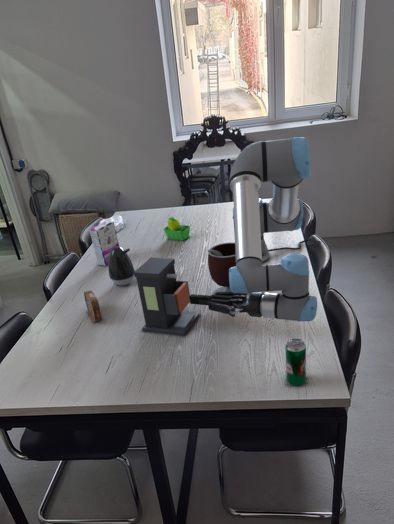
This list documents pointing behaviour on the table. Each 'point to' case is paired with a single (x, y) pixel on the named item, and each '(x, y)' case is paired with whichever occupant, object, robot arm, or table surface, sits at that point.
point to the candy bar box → (104, 241)
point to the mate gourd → (221, 264)
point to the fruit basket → (176, 230)
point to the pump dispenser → (120, 266)
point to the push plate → (182, 297)
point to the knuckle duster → (115, 222)
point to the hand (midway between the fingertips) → (190, 299)
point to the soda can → (295, 362)
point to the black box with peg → (162, 298)
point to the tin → (92, 305)
